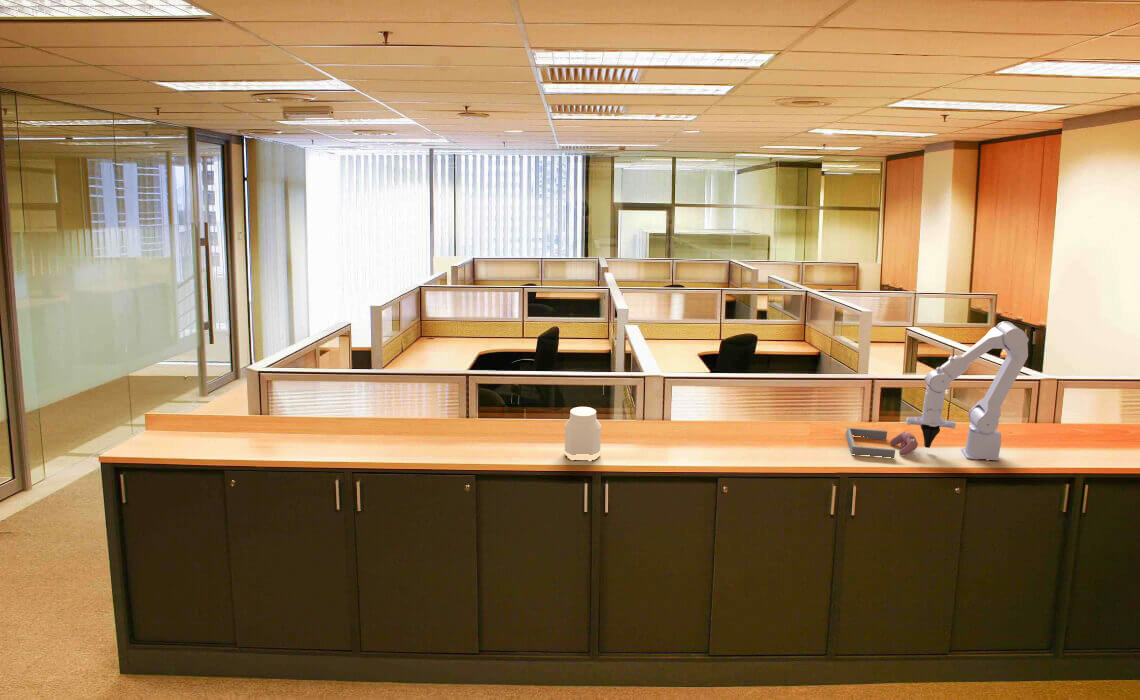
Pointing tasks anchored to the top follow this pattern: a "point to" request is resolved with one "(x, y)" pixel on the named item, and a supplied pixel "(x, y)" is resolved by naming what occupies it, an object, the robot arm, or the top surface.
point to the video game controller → (905, 443)
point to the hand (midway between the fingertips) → (927, 446)
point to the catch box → (868, 450)
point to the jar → (582, 432)
